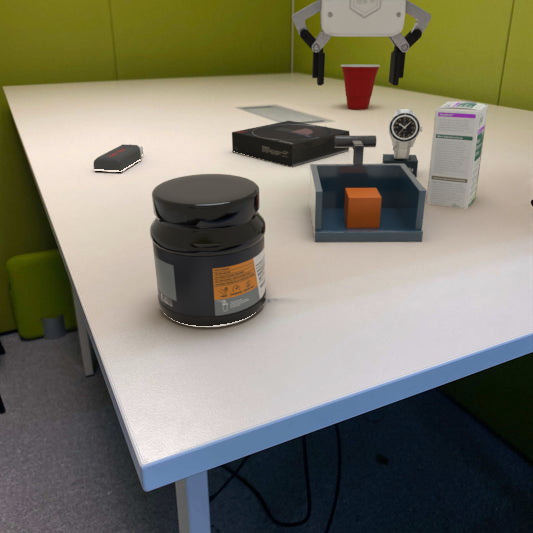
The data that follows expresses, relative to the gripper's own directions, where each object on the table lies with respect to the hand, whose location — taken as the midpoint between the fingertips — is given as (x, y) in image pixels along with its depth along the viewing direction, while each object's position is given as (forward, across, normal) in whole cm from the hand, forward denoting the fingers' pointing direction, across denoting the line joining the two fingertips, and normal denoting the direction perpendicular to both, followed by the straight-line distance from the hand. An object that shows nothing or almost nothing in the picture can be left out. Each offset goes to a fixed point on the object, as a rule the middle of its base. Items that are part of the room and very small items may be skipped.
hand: (356, 84), depth 72 cm
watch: (+17, +10, +16) cm, 26 cm away
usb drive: (+18, -40, +25) cm, 50 cm away
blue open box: (+17, 0, -8) cm, 18 cm away
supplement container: (+18, -17, -29) cm, 38 cm away
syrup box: (+17, +14, -1) cm, 22 cm away
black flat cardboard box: (+17, -8, +34) cm, 39 cm away
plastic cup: (+17, +12, +85) cm, 88 cm away
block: (+16, 0, -10) cm, 18 cm away
